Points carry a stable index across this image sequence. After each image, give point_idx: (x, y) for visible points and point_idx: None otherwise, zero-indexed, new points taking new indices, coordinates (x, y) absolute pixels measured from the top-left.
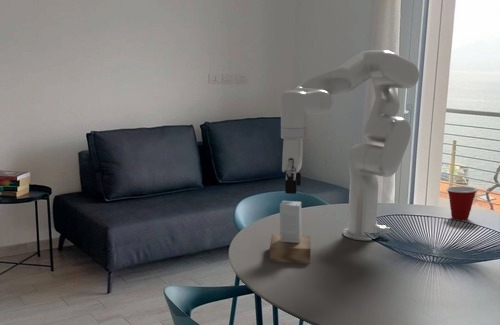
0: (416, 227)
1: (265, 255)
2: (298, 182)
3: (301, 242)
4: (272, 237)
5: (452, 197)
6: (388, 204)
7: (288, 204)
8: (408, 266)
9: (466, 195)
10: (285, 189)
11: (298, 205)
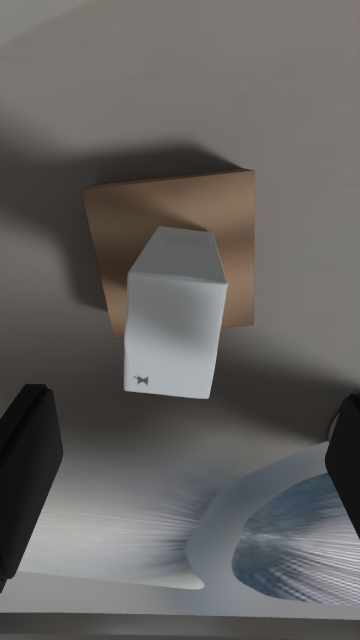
0: None
1: (153, 157)
2: (339, 475)
3: None
4: (209, 181)
5: None
6: None
7: (139, 332)
8: (166, 498)
9: None
10: (9, 406)
11: (129, 389)
